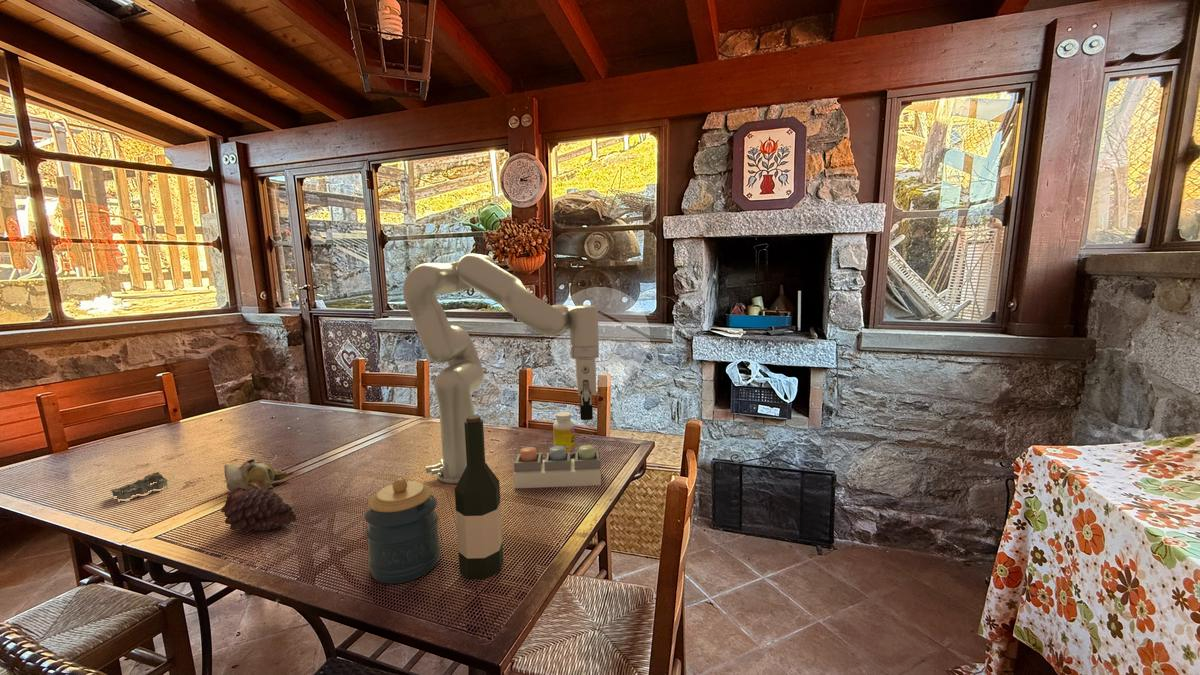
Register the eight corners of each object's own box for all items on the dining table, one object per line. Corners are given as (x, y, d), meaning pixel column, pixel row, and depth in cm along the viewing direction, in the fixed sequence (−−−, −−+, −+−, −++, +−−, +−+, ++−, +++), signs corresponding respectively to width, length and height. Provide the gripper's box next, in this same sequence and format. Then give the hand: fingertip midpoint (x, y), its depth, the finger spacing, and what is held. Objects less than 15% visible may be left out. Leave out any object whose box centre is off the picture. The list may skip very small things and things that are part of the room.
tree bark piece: (162, 484, 133) (160, 470, 132) (170, 490, 128) (168, 476, 128) (110, 498, 124) (108, 484, 124) (117, 505, 120) (115, 490, 120)
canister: (401, 541, 101) (395, 462, 98) (454, 550, 97) (448, 469, 94) (353, 579, 88) (345, 490, 86) (411, 591, 84) (404, 498, 82)
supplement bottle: (574, 457, 145) (573, 417, 144) (552, 457, 145) (551, 417, 144) (575, 449, 152) (574, 410, 150) (555, 449, 152) (554, 411, 150)
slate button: (549, 462, 127) (549, 452, 126) (550, 456, 131) (550, 446, 131) (565, 462, 127) (565, 451, 126) (566, 456, 131) (566, 445, 131)
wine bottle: (457, 560, 94) (447, 414, 90) (499, 549, 97) (491, 408, 93) (462, 584, 86) (452, 426, 82) (507, 572, 89) (500, 419, 85)
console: (514, 488, 125) (513, 465, 124) (518, 474, 134) (517, 452, 133) (601, 485, 126) (600, 461, 125) (599, 471, 134) (599, 449, 134)
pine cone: (312, 513, 113) (303, 490, 107) (282, 552, 106) (270, 530, 99) (244, 493, 114) (231, 469, 108) (210, 530, 107) (193, 507, 100)
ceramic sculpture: (238, 451, 131) (294, 452, 132) (240, 480, 133) (295, 481, 134) (209, 467, 121) (270, 468, 122) (212, 499, 122) (272, 499, 123)
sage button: (579, 461, 127) (578, 451, 126) (579, 455, 131) (578, 445, 131) (595, 461, 127) (595, 450, 127) (594, 455, 131) (594, 444, 131)
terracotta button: (519, 463, 126) (519, 453, 126) (521, 457, 131) (521, 447, 130) (536, 463, 126) (535, 452, 126) (537, 457, 131) (537, 446, 130)
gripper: (600, 356, 117) (601, 424, 119) (597, 346, 134) (598, 405, 136) (570, 357, 117) (572, 425, 119) (571, 347, 134) (572, 406, 136)
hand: (586, 414), depth 128 cm, fingers open, 8 cm apart
